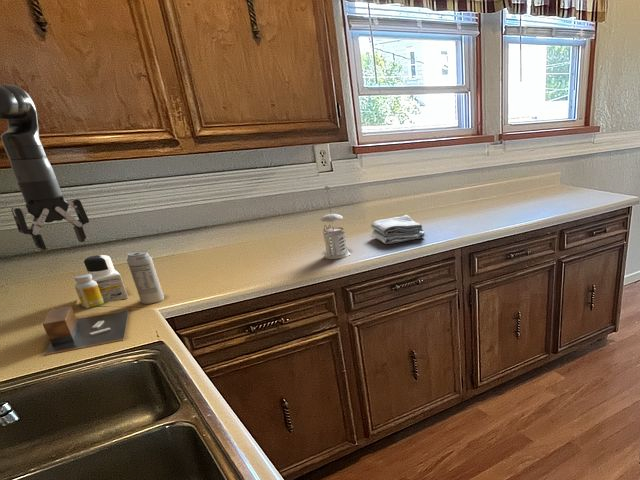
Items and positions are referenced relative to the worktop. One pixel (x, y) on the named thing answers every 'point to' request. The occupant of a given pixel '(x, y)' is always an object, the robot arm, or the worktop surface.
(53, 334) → the eraser
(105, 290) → the container
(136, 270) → the energy drink can
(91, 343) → the board
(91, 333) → the smudge
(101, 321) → the smudge
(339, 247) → the french press
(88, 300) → the supplement bottle
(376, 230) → the towel
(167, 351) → the worktop surface
